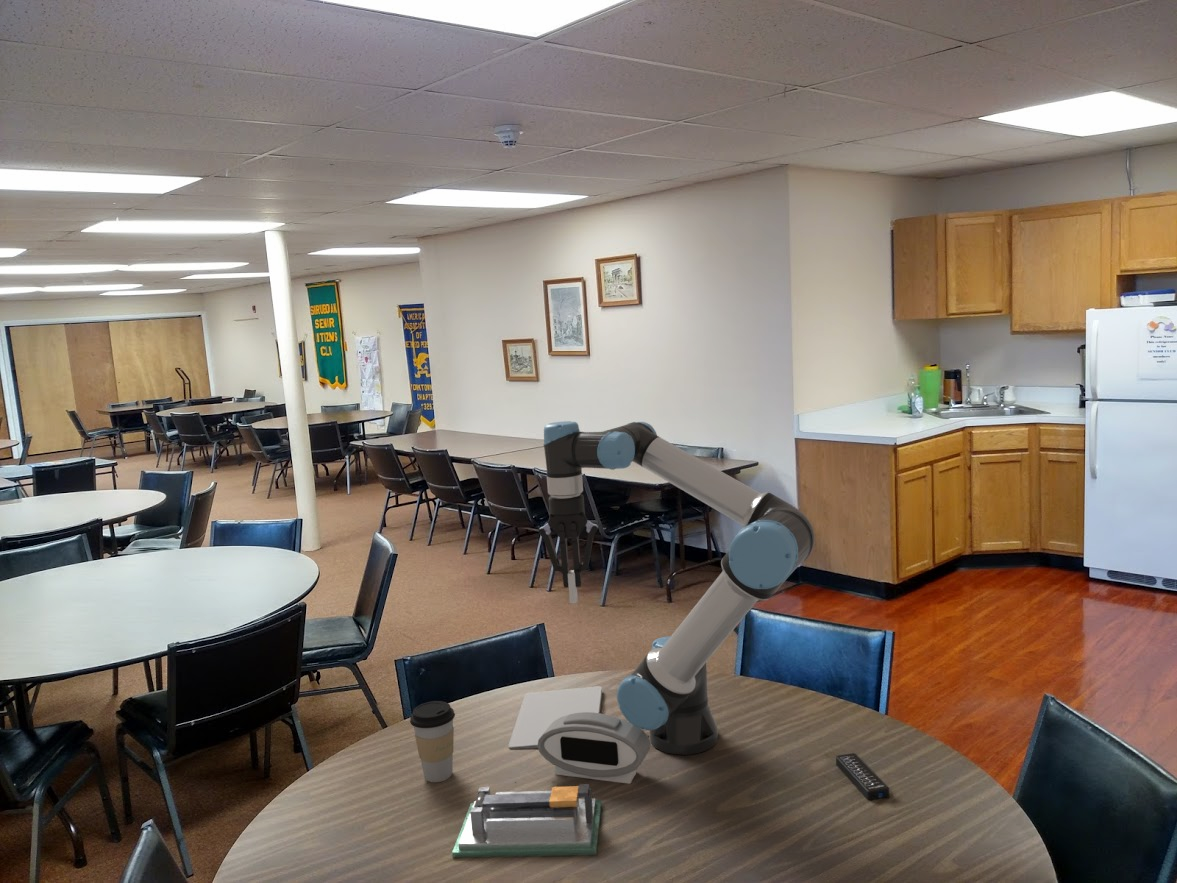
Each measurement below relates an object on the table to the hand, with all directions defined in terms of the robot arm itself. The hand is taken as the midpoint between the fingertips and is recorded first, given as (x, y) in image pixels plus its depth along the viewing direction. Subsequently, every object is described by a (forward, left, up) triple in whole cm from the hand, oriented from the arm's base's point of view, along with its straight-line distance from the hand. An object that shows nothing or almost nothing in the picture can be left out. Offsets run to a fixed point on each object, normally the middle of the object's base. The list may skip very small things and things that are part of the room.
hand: (573, 601), depth 187 cm
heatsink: (+8, +30, -34) cm, 46 cm away
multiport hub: (-57, +15, -35) cm, 68 cm away
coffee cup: (+31, +9, -35) cm, 47 cm away
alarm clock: (-3, +10, -35) cm, 36 cm away
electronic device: (+8, -16, -35) cm, 39 cm away
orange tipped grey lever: (+8, +30, -29) cm, 43 cm away
